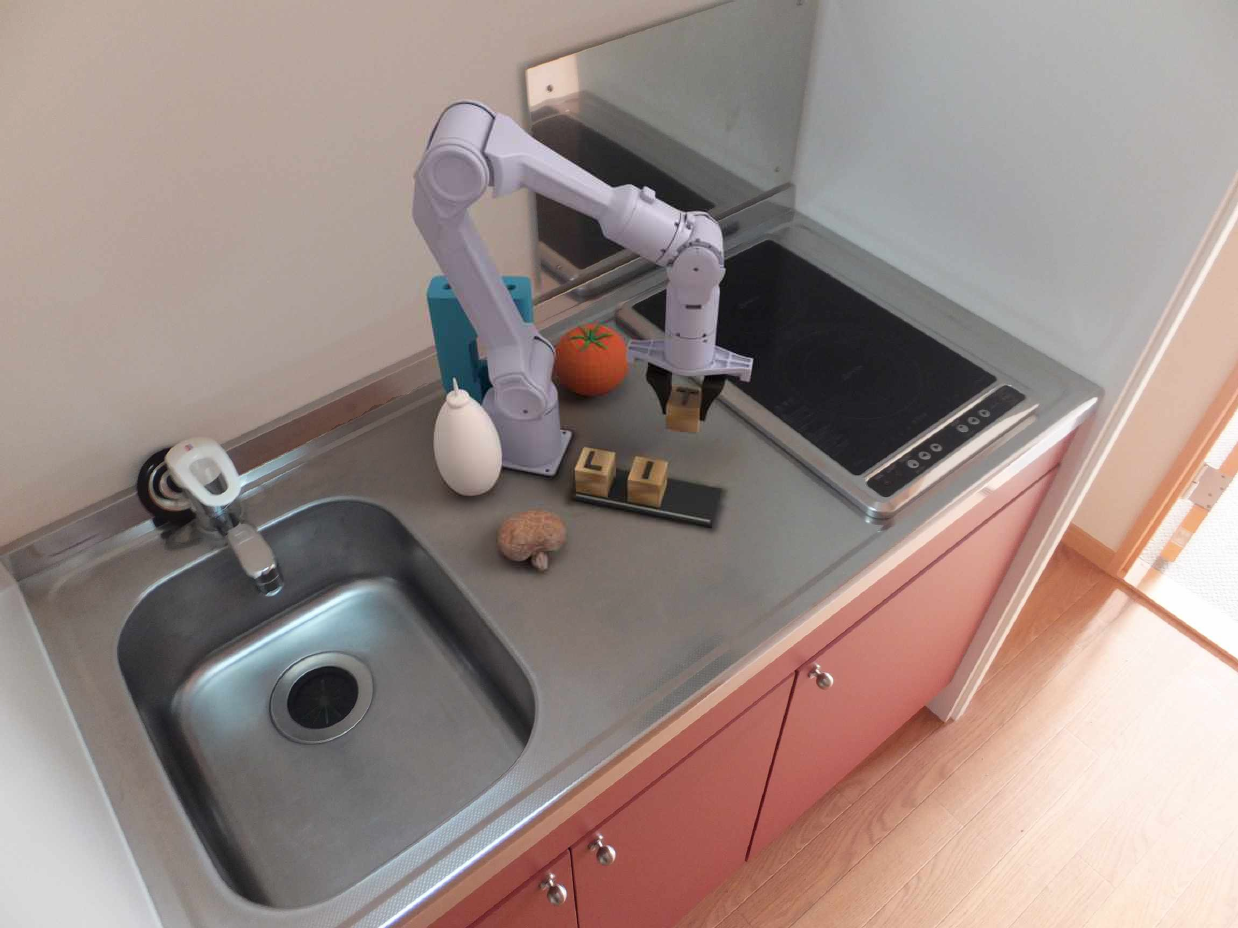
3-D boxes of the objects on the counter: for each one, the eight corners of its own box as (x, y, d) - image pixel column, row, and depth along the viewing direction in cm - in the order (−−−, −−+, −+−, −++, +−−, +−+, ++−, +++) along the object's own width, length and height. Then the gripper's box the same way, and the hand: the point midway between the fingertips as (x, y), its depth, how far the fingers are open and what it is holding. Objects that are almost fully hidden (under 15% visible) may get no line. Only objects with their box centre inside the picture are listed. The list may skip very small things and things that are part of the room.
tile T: (665, 429, 107) (666, 404, 104) (672, 407, 110) (673, 382, 107) (697, 434, 106) (699, 409, 103) (703, 412, 109) (705, 387, 106)
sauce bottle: (498, 458, 112) (481, 349, 99) (513, 502, 107) (496, 392, 94) (438, 473, 110) (412, 363, 97) (450, 518, 105) (424, 408, 92)
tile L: (575, 491, 107) (574, 468, 104) (585, 468, 110) (583, 445, 107) (607, 498, 106) (606, 474, 103) (615, 474, 109) (615, 451, 106)
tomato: (543, 398, 120) (537, 341, 113) (576, 355, 126) (573, 298, 119) (610, 419, 117) (609, 362, 110) (641, 374, 123) (641, 316, 116)
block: (542, 404, 119) (531, 276, 106) (538, 428, 116) (527, 299, 102) (454, 403, 119) (432, 275, 106) (448, 427, 116) (424, 298, 102)
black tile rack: (572, 500, 107) (571, 497, 107) (585, 466, 111) (585, 462, 111) (711, 528, 104) (712, 524, 103) (721, 491, 108) (721, 488, 107)
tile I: (627, 501, 106) (627, 478, 103) (635, 478, 109) (635, 454, 106) (659, 507, 105) (660, 484, 102) (666, 484, 108) (667, 460, 105)
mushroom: (581, 565, 100) (567, 503, 104) (555, 551, 95) (542, 487, 99) (524, 587, 102) (513, 526, 106) (497, 575, 97) (486, 511, 101)
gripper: (761, 311, 98) (749, 400, 108) (636, 293, 101) (635, 382, 111) (751, 350, 94) (740, 439, 104) (620, 330, 96) (621, 419, 106)
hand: (685, 412), depth 107 cm, fingers closed on tile T, 4 cm apart
